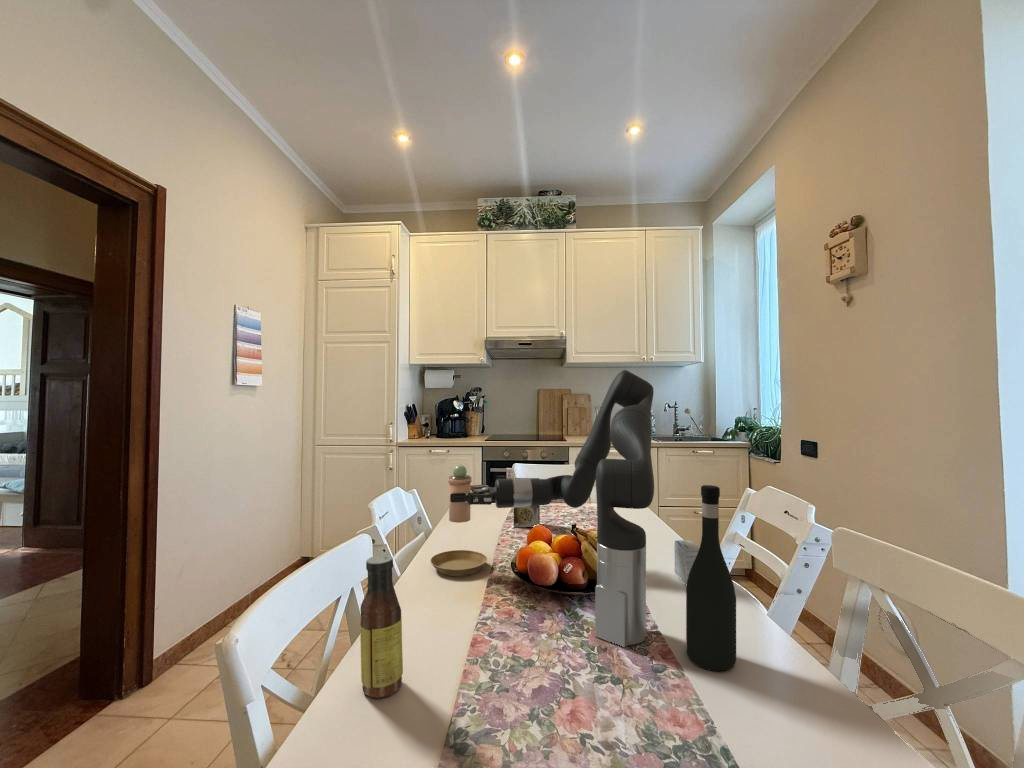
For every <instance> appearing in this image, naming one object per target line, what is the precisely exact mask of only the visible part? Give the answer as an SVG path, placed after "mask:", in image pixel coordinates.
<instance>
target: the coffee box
mask: <svg viewBox="0 0 1024 768" xmlns="http://www.w3.org/2000/svg"><path fill="white" fill-rule="evenodd" d="M514 479H540V478H539V477H538V478H537V477H514ZM540 513H541V505H538V506H526V507H513V526H514V527H533V526H534V525H537V524H540V525H541V514H540ZM514 527H513V528H514Z"/></svg>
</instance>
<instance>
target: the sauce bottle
mask: <svg viewBox="0 0 1024 768" xmlns="http://www.w3.org/2000/svg"><path fill="white" fill-rule="evenodd" d="M365 564H366V565H365V568H366V571H367V585H366V586H367V591H366V594H365V596H364V597H363V600H362V602H361V604H360V623H359V626H360V629H359V630H360V631H359V632H360V633H359V634H360V671H361V673H360V677H361V679H360V680H361V684H362V685H361V686H362V692H363V694H364V695H366V696H368V697H370V698H374V699H380V698H381V699H382V698H386V697H389V696H391V695H393V694H396V692H398V690H399V689H400V688H401V686H402V684H403V681H402V680H403V674H404V673H403V672H404V670H403V669H404V666H403V665H404V663H403V662H404V661H403V660H404V658H403V630H402V629H403V627H402V626H403V624H402V623H403V622H402V621H403V620H402V618H403V617H402V608H401V606H400V603H399V599H398V597H397V593H396V590H395V586H394V581H393V567H394V559H393V557H392V556H391V555H388V554H387V555H386V554H383V555H382V554H380V555H379V554H378V555H375V556H371V557H369V558H367V560H366V561H365Z"/></svg>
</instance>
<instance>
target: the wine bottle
mask: <svg viewBox="0 0 1024 768" xmlns="http://www.w3.org/2000/svg"><path fill="white" fill-rule="evenodd" d="M720 494H721V490H720V486H717V485H713V484H712V485H710V484H703V485H701V486H700V495H701V515H702V517H701V519H702V520H701V521H702V522H701V524H702V525H701V528H702V529H701V530H702V531H701V540H700V545H699V551H698V554H697V556H696V558H695V561H694V563H693V565H692V567H691V570H690V573H689V576H688V580H687V586H686V585H685V586H686V587H685V646H686V647H685V650H686V655H687V657H688V658H689V659H690V660H691V662H693V663H694V664H695V665H697V666H698V665H699V666H698V667H700V666H701V667H700V668H702V669H705V668H706V670H708V669H710V670H709V671H712V670H717V671H716V672H725V671H724V670H726V671H729V670H730V668H731V669H733V668H734V666H735V664H736V662H737V596H736V590H735V585H734V581H733V579H732V575H731V573H730V571H729V568H728V565H727V563H726V560H725V558H724V554H723V552H722V548H721V544H720V536H719V535H720V534H719V533H720V532H719V530H720V529H719V528H720V527H719V522H720V521H719V520H720V519H719V518H720V517H719V515H720V514H719V513H720V512H719V510H720V509H719V508H720V504H719V503H720V496H721V495H720Z"/></svg>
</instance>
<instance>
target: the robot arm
mask: <svg viewBox="0 0 1024 768" xmlns="http://www.w3.org/2000/svg"><path fill="white" fill-rule="evenodd" d="M654 393H655V392H654V387H653V385H652V383H650V382H649V381H648V380H645V379H643V378H642V377H640V376H638V375H637V374H634V373H632V372H631V371H629V370H626V369H624V370H621V371H619V372H618V373H617V374H616V376H615V377H614V379H613V380H612V382H611V384H610V385H609V387H608V389H607V392H606V394H605V396H604V399H603V401H602V403H601V406H600V407H599V410H598V412H597V415H596V417H595V419H594V422H593V424H592V427H591V430H590V432H589V434H588V436H587V438H586V440H585V442H584V444H583V445H582V447H581V449H580V450H579V452H578V454H577V456H576V457H575V460H574V468H575V469H574V472H573V474H571V475H569V474H562V475H556V476H551V477H547V478H539V479H515V478H501V479H500V478H498V479H497V478H496V480H495V482H494V487H492V486H489V485H488V484H485V483H484V484H475V485H474V484H472V485H471V484H470V492H467V493H451V494H450V501H451V502H465V503H468V504H470V506H471V505H488V506H490V505H492V504H493V503H492V502H495V507H496V508H497V509H509V508H510V509H511V508H513V509H514V507H526V506H538V505H540V506H548V505H550V504H552V501H555V500H563V502H564V503H565V504H566V505H567V506H568V507H570V508H574V509H577V508H580V507H582V506H584V505H585V504H586V503H587V501H588V500H589V499H590V496H591V494H592V492H593V489H594V486H595V494H596V495H595V496H596V497H595V498H596V511H597V512H596V513H597V514H596V515H597V516H596V517H597V518H596V519H597V520H596V521H597V522H596V523H597V524H596V525H597V526H596V529H597V530H596V586H595V587H594V592H595V593H594V595H595V596H594V598H595V601H594V610H595V611H594V637H596V638H599V639H601V640H604V641H606V642H609V643H611V642H612V643H611V644H614V643H615V644H614V645H616V644H618V645H617V646H619V645H620V646H619V647H621V646H622V648H627V646H633V645H638V644H640V643H642V642H644V641H645V639H646V636H647V631H646V630H647V533H646V531H645V529H644V528H643V527H642V526H640V525H639V524H636V523H634V522H632V521H630V520H627V519H625V518H624V517H622V516H621V514H619V513H618V512H617V511H616V510H615V508H616V509H617V508H618V509H619V508H620V509H630V510H631V509H632V510H633V509H634V510H641V509H647V508H648V507H650V506H651V504H652V503H653V500H654V495H655V477H654V470H653V462H652V461H653V460H652V454H651V453H652V420H651V419H652V417H651V416H652V413H651V412H652V406H653V400H654ZM615 404H617V405H618V406H621V407H622V408H621V409H619V410H618V411H617V412H616V413H615V414H614V416H613V417H612V413H613V409H614V407H615ZM611 417H612V420H611ZM611 445H612V446H613V448H614V449H615V451H616V452H617V453H618V454H619V455H620V456H621V457H623V458H624V459H621V458H608V456H609V454H610V450H611Z"/></svg>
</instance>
